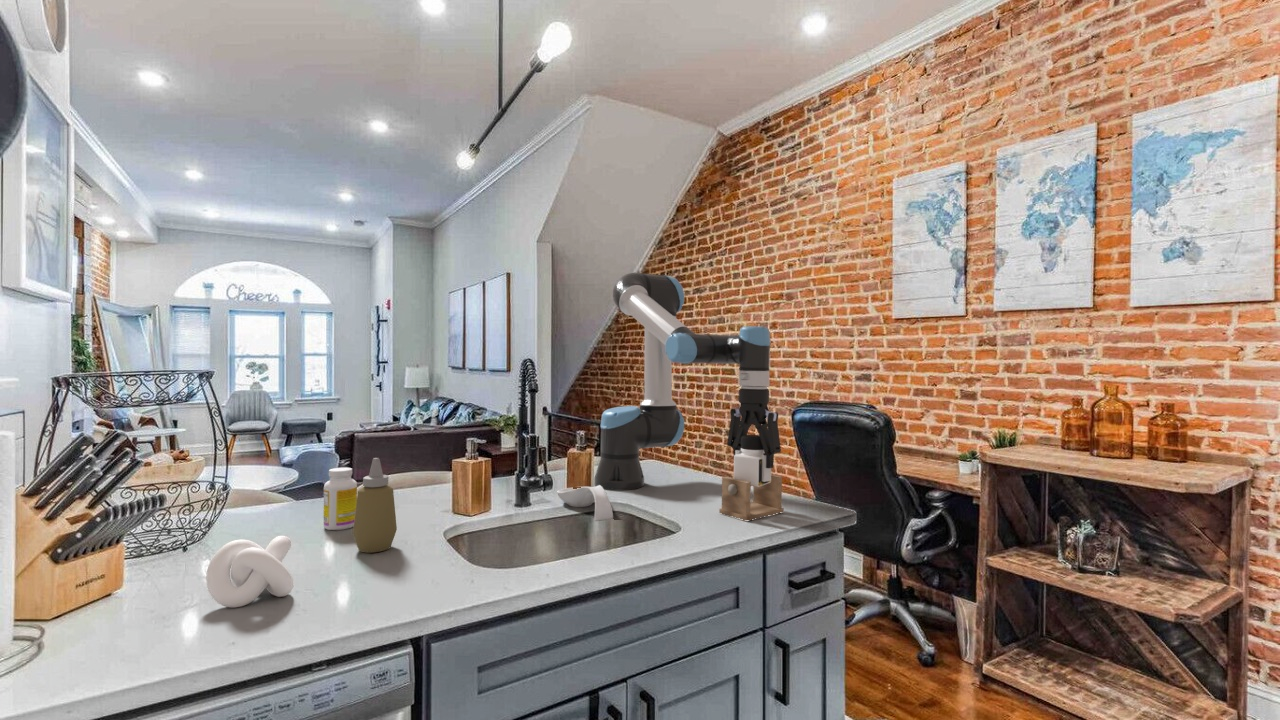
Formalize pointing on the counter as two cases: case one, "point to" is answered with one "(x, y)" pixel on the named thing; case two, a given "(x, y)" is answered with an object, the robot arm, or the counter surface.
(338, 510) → the supplement bottle
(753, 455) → the medicine bottle
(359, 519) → the squeeze bottle
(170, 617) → the counter surface
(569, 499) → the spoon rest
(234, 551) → the white knot sculpture
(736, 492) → the holder
